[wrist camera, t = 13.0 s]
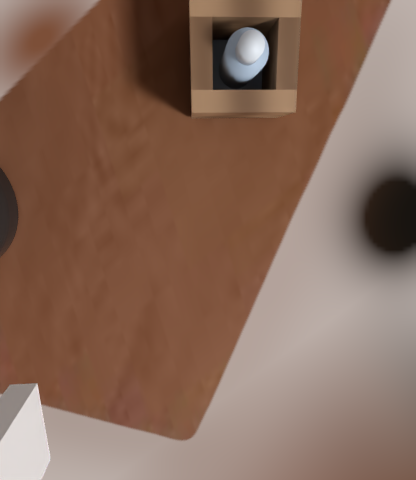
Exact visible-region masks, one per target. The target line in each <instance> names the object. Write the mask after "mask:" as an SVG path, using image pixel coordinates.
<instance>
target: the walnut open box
mask: <svg viewBox="0 0 416 480" xmlns="http://www.w3.org/2000/svg"><path fill="white" fill-rule="evenodd" d="M301 8H302V0H189V39H190V84H191V118H279V117H282V116H285V115H288V114H291V113H295V112H296V97H297V79H298V61H299V44H300V26H301ZM246 27H250V28H254V29H256V30H258V31H260V32H261V33H262V34H263V35H264V37H265V38H266V40H267V43H268V47H269V55H268V59H267V62H266V64H265V66H264V67H263V68H262V90H213V51H212V40H229V38H230V37H231V36H232V34H233V33H234V32H236V31H237V30H239V29H241V28H246Z"/></svg>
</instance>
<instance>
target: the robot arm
mask: <svg viewBox="0 0 416 480" xmlns="http://www.w3.org/2000/svg"><path fill="white" fill-rule="evenodd" d="M17 224H18V207H17V201H16V197H15V194H14V191H13V188H12V186H11V184H10V182H9V180H8V178H7V176H6V175H5V173H4V172H3V170H2V169H1V168H0V257H1V256H2V255H3V254H4V253H5V252H6V250H7V249H8V248H9V246H10V244H11V243H12V241H13V239H14V236H15V233H16V229H17ZM50 459H51V458H50V452H49V447H48V441H47V436H46V430H45V424H44V419H43V413H42V407H41V402H40V396H39V390H38V385H37V383H36V384H15V385H9V387H8V388H7V389H6V391H5V392H4V393H3V395H2V396H1V398H0V480H42V477H43V475H44V473H45V471H46V468H47V466H48V464H49V462H50Z"/></svg>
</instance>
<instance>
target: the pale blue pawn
mask: <svg viewBox="0 0 416 480" xmlns="http://www.w3.org/2000/svg"><path fill="white" fill-rule="evenodd" d="M212 51H213V90H262V68H263V67H264V66H265V64H266V62H267V59H268V55H269V47H268V43H267V40H266V38H265V37H264V35H263V34H262V33H261V32H260V31H258V30H256V29H254V28H250V27H246V28H241V29H239V30H237V31H236V32H234V33H233V34H232V36H231V37H230V38H229V40H212Z"/></svg>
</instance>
